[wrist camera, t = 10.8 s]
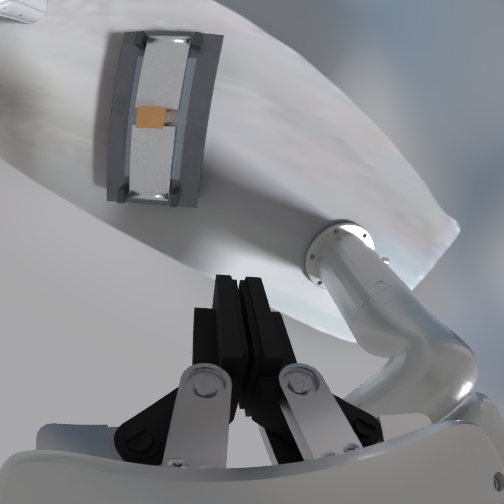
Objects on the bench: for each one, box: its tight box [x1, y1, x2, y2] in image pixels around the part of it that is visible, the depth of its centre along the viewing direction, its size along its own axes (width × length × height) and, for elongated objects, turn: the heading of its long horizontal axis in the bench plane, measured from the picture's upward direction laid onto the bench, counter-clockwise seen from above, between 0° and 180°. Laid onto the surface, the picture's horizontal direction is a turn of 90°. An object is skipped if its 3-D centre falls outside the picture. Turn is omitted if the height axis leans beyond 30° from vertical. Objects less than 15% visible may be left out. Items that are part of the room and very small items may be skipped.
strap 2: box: [129, 124, 176, 201], centre depth 30 cm, size 9×5×1 cm, turn 170°
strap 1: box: [135, 36, 191, 109], centre depth 25 cm, size 9×5×1 cm, turn 170°
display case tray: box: [107, 31, 224, 208], centre depth 28 cm, size 12×22×8 cm, turn 170°
